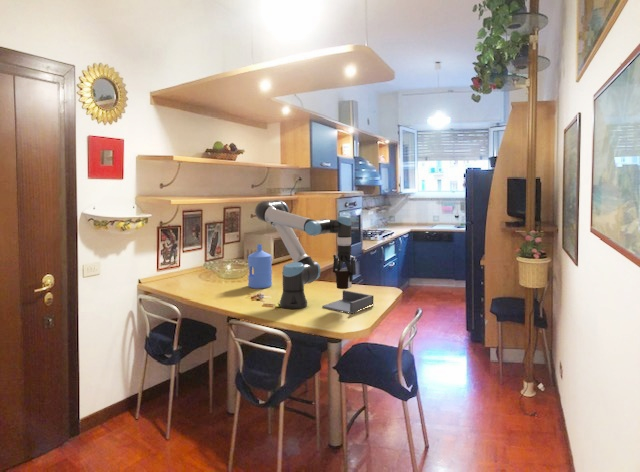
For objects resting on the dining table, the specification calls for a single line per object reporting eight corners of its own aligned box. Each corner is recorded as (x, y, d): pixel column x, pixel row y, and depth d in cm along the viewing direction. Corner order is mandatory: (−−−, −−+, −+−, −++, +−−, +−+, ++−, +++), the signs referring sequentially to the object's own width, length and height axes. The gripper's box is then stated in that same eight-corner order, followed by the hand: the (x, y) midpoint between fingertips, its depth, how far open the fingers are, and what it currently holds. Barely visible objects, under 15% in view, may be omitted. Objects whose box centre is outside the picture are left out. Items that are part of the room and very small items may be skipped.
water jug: (274, 283, 291) (273, 243, 288) (269, 289, 276) (268, 246, 273) (251, 283, 293) (251, 243, 290) (245, 288, 277) (244, 246, 274)
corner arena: (352, 314, 220) (352, 302, 219) (322, 307, 233) (322, 296, 232) (373, 306, 235) (373, 295, 235) (344, 300, 248) (344, 290, 247)
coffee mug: (346, 290, 226) (346, 271, 225) (332, 288, 230) (332, 270, 229) (355, 285, 237) (355, 268, 235) (341, 284, 241) (341, 266, 239)
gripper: (363, 245, 228) (362, 287, 230) (334, 242, 240) (334, 283, 242) (355, 246, 222) (354, 290, 224) (326, 244, 234) (326, 285, 236)
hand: (344, 286), depth 233 cm, fingers closed on coffee mug, 6 cm apart
